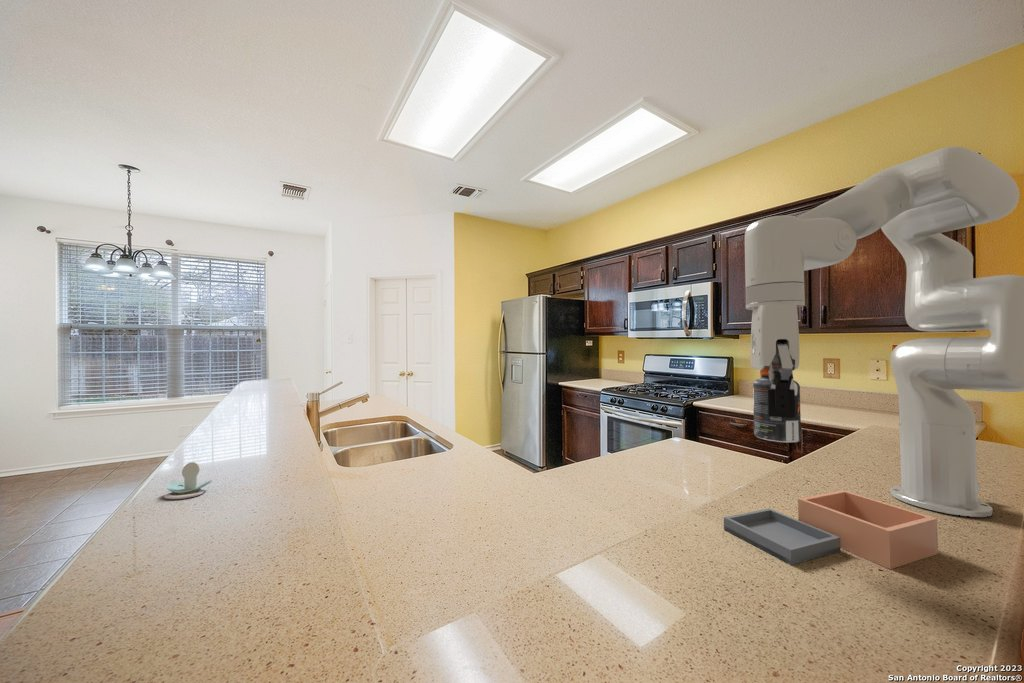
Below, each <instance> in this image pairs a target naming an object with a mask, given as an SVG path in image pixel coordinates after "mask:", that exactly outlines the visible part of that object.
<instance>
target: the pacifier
mask: <svg viewBox="0 0 1024 683" xmlns="http://www.w3.org/2000/svg"><path fill="white" fill-rule="evenodd" d="M200 471H201V466H200V465H199V464H198V463H197V462H195V461H191V462H188V463H187V464H185V465H184V466H183V467H182V470H181V475H182V477H183V479H184V480H183V481H184V482H182V481H172V482H169V483H168V484H167V485H166V488H167V490H168V491H169V493H166V494H165V495H164V496H163V499H167V500H183V499H189V498H194V497H198V496H200V495H202V494H203V493H204V492H205V491H204V490H203V489H202V488H204V487H206V486H207V485H209V484H211V483H212V482H213V479H210V480H208V481H206V482H203V483H200V484H198V483H197V482H198V475H199V474H200Z"/></svg>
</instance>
